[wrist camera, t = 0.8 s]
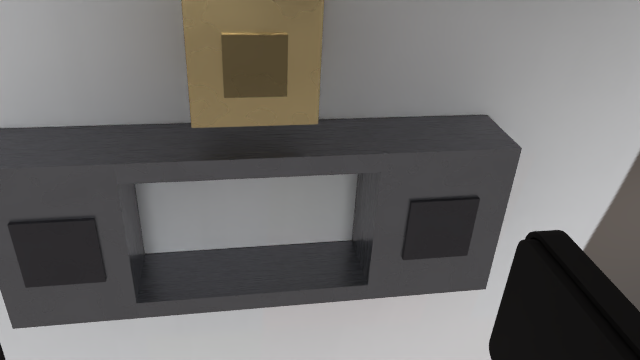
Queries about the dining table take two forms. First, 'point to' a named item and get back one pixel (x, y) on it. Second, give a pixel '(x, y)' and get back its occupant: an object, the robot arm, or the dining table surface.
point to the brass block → (253, 61)
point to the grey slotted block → (254, 262)
